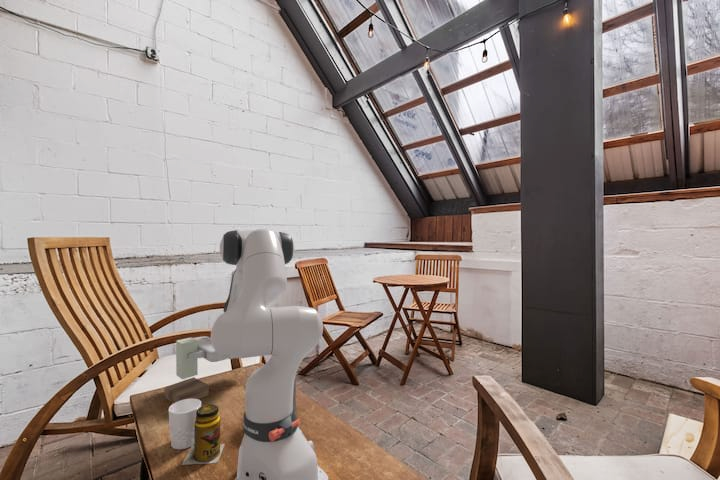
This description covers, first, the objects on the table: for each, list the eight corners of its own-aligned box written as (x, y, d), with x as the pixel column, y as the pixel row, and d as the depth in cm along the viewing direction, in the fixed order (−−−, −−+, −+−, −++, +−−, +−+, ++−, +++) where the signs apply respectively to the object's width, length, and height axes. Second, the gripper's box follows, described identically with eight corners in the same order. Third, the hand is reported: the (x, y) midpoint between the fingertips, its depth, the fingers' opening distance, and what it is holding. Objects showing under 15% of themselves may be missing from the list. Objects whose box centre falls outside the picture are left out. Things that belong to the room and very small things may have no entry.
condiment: (217, 463, 84) (217, 415, 84) (181, 465, 83) (180, 417, 83) (225, 444, 92) (225, 400, 91) (191, 447, 90) (191, 402, 90)
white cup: (163, 444, 91) (162, 407, 91) (191, 430, 98) (191, 395, 98) (178, 455, 87) (178, 416, 87) (207, 439, 93) (207, 403, 93)
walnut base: (208, 396, 119) (208, 384, 119) (179, 407, 111) (179, 395, 111) (193, 388, 125) (193, 377, 125) (164, 398, 117) (164, 387, 117)
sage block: (197, 374, 118) (197, 340, 118) (182, 379, 114) (182, 344, 114) (191, 370, 121) (191, 337, 121) (176, 375, 118) (176, 340, 117)
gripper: (209, 330, 134) (172, 338, 124) (236, 341, 121) (197, 352, 110) (209, 346, 134) (172, 355, 124) (236, 359, 121) (197, 371, 110)
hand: (184, 354), depth 117 cm, fingers closed on sage block, 5 cm apart
